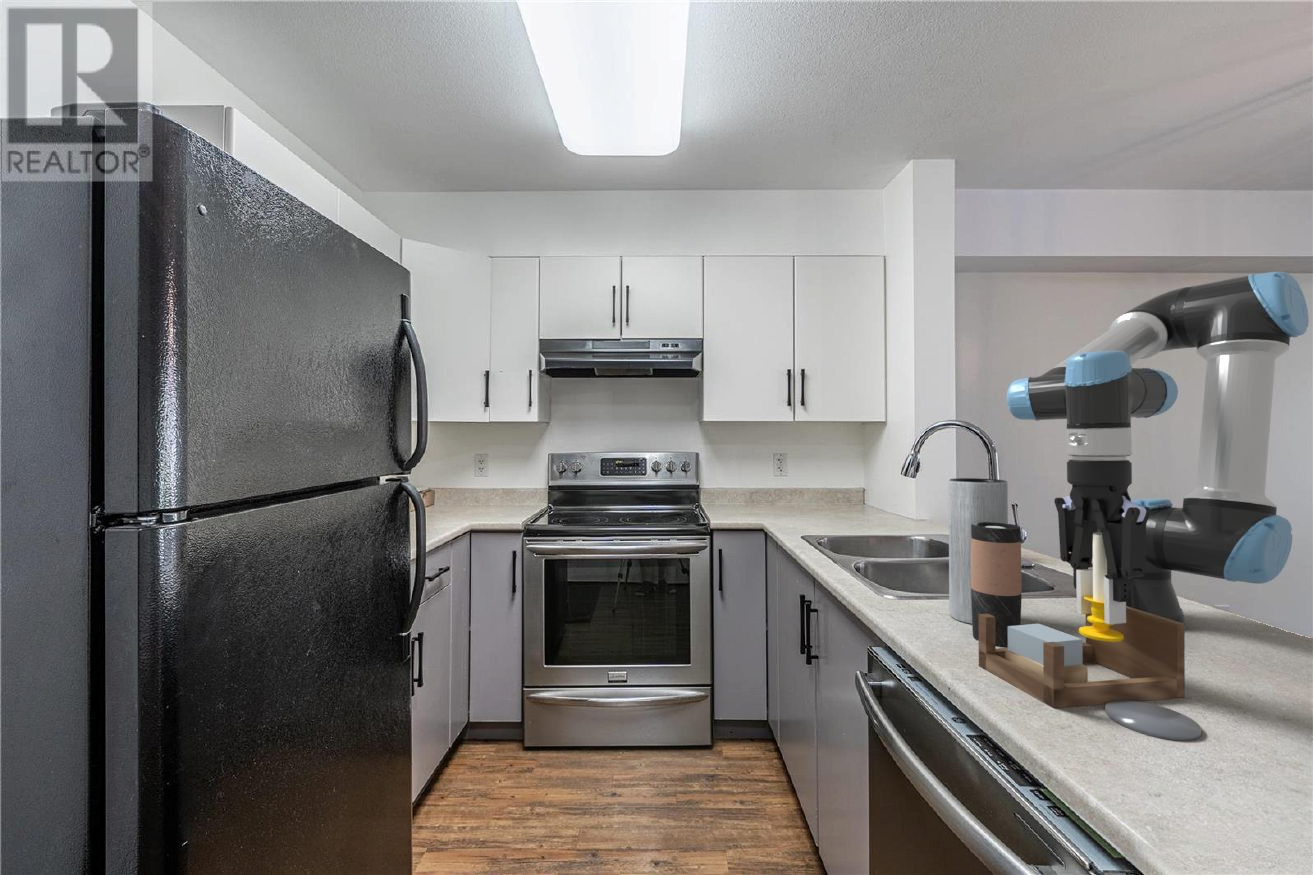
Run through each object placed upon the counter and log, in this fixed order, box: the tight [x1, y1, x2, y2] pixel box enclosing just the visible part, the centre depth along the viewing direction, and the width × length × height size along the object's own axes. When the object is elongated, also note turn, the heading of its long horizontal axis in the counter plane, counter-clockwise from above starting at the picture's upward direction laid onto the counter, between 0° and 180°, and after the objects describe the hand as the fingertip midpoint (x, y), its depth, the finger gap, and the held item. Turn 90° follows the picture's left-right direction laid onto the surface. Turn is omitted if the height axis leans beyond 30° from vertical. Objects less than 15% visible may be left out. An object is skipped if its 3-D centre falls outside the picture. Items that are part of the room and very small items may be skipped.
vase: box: [948, 477, 1009, 625], centre depth 112 cm, size 10×10×27 cm
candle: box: [1078, 530, 1124, 642], centre depth 84 cm, size 5×5×16 cm
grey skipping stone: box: [1104, 700, 1202, 742], centre depth 71 cm, size 9×9×1 cm
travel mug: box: [971, 522, 1023, 648], centre depth 100 cm, size 8×8×20 cm
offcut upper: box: [1007, 623, 1084, 666], centre depth 83 cm, size 6×7×4 cm
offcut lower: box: [1004, 647, 1089, 684], centre depth 83 cm, size 6×8×4 cm
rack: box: [978, 606, 1186, 709], centre depth 83 cm, size 20×14×10 cm
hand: (1100, 617), depth 84 cm, fingers closed on candle, 4 cm apart
